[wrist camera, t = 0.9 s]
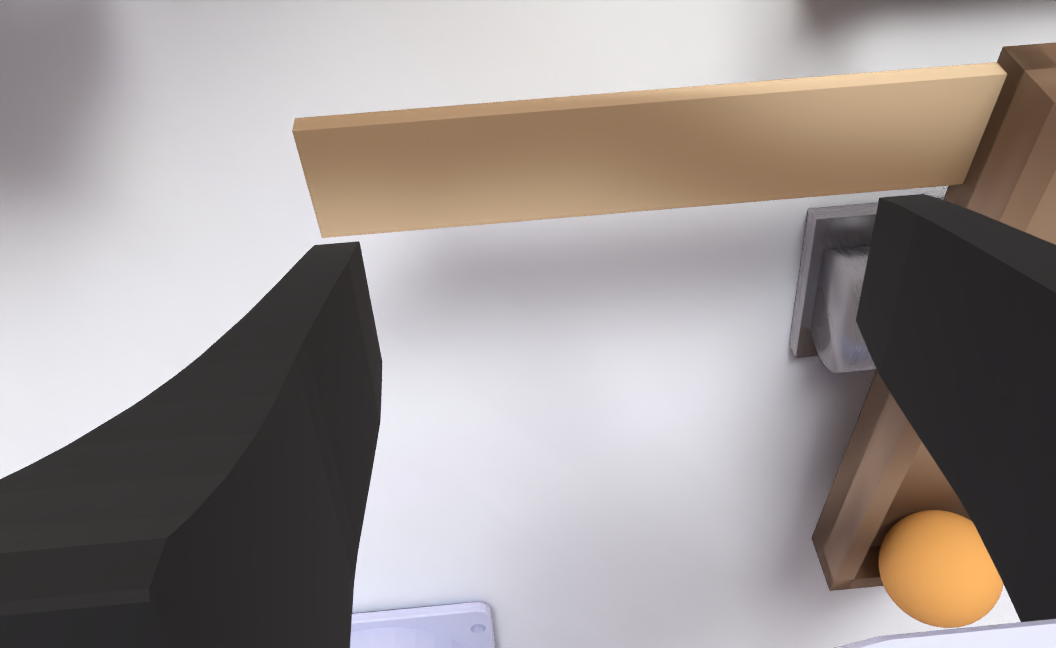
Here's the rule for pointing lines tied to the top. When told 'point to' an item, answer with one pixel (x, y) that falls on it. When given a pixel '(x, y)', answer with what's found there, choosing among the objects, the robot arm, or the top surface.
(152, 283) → the top surface
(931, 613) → the ball
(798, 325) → the fulcrum
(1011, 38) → the top surface
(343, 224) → the ramp
